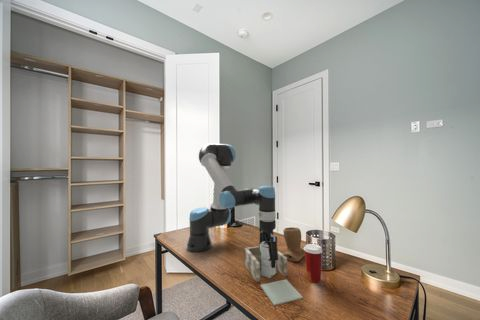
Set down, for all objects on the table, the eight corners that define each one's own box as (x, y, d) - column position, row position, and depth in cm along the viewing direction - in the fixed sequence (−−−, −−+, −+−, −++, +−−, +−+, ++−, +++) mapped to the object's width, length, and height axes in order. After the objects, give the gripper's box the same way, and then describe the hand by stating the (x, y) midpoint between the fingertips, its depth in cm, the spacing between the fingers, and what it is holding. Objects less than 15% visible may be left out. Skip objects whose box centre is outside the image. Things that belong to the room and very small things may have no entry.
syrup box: (266, 269, 95) (265, 239, 95) (277, 273, 91) (276, 242, 91) (259, 274, 90) (259, 242, 91) (270, 279, 87) (270, 246, 87)
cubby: (244, 264, 100) (244, 248, 101) (270, 259, 105) (270, 244, 105) (256, 282, 85) (256, 263, 85) (287, 275, 89) (286, 257, 89)
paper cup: (325, 278, 87) (324, 246, 87) (319, 286, 81) (318, 252, 81) (308, 272, 92) (307, 242, 92) (301, 279, 86) (300, 247, 86)
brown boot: (289, 248, 118) (288, 223, 119) (309, 253, 111) (308, 227, 111) (277, 258, 106) (276, 230, 107) (298, 264, 99) (297, 234, 99)
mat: (260, 286, 82) (260, 284, 82) (285, 280, 86) (285, 279, 86) (274, 305, 70) (273, 304, 70) (302, 298, 74) (302, 296, 74)
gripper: (251, 215, 100) (252, 260, 99) (269, 226, 81) (271, 283, 80) (265, 213, 102) (266, 258, 102) (286, 225, 83) (287, 280, 82)
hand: (268, 269), depth 91 cm, fingers closed on syrup box, 7 cm apart
